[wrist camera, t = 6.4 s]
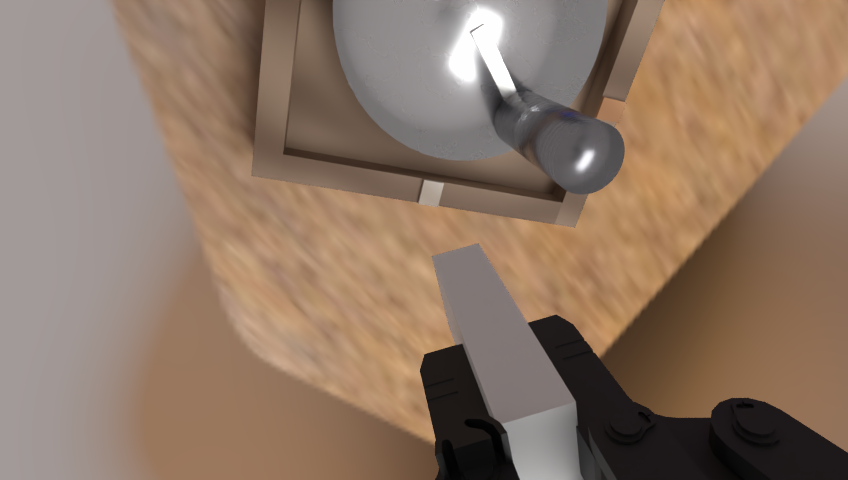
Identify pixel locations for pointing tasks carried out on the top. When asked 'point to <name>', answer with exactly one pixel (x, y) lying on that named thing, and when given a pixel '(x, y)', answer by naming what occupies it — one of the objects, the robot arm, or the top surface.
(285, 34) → the dial panel
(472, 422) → the robot arm
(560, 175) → the dial
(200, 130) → the top surface
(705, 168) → the top surface
